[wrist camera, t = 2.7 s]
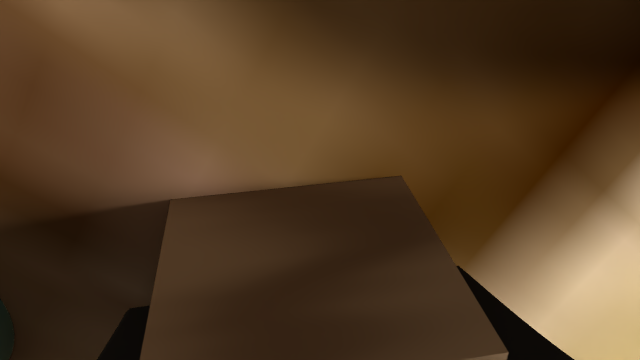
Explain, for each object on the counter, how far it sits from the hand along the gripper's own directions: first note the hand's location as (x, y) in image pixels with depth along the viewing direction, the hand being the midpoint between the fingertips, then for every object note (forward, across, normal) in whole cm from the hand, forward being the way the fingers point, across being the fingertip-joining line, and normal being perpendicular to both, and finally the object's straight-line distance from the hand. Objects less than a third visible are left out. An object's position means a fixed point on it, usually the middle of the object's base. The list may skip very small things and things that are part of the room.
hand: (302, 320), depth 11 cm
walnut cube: (+2, 0, 0) cm, 2 cm away
